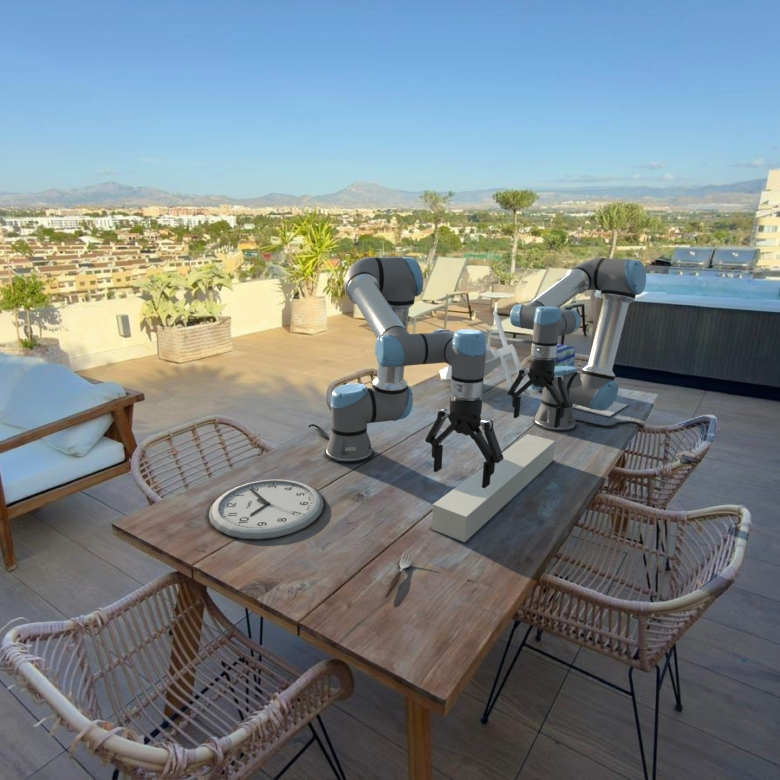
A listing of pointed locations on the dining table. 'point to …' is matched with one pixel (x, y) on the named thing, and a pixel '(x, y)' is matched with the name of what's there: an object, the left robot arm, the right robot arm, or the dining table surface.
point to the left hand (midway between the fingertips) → (461, 477)
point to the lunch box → (562, 359)
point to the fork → (403, 565)
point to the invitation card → (608, 412)
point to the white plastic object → (494, 359)
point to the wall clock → (266, 509)
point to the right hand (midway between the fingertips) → (536, 421)
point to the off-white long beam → (491, 488)
